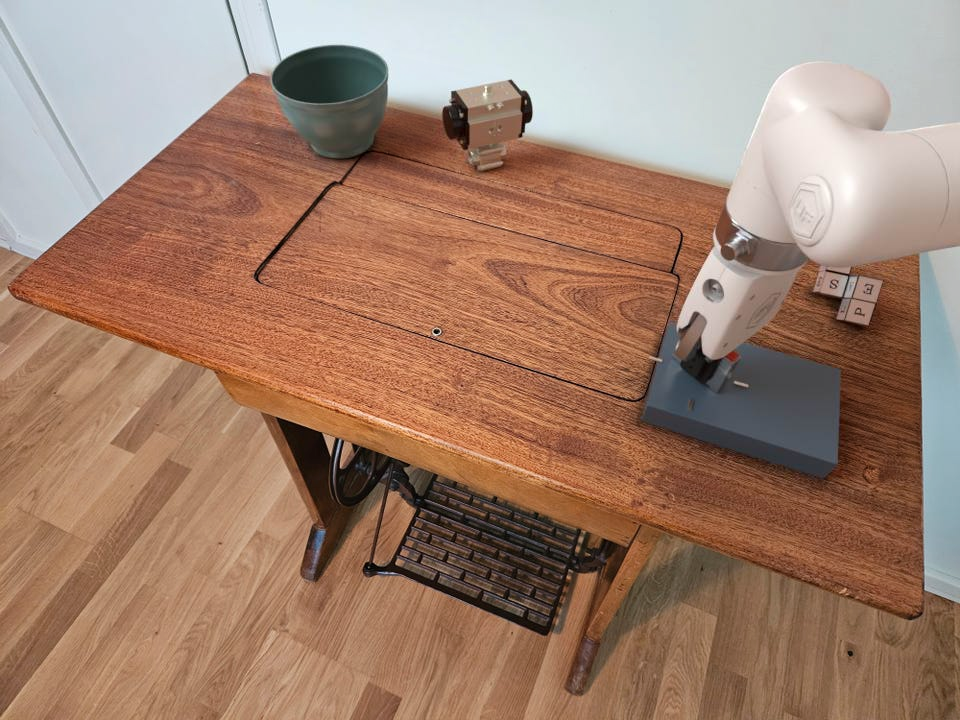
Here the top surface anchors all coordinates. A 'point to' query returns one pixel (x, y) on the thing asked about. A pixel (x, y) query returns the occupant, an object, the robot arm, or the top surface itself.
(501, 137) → the pneumatic valve
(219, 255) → the top surface
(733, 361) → the lever
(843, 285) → the building blocks
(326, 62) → the flower pot
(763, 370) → the blue-grey rectangular block
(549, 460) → the top surface
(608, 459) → the top surface
